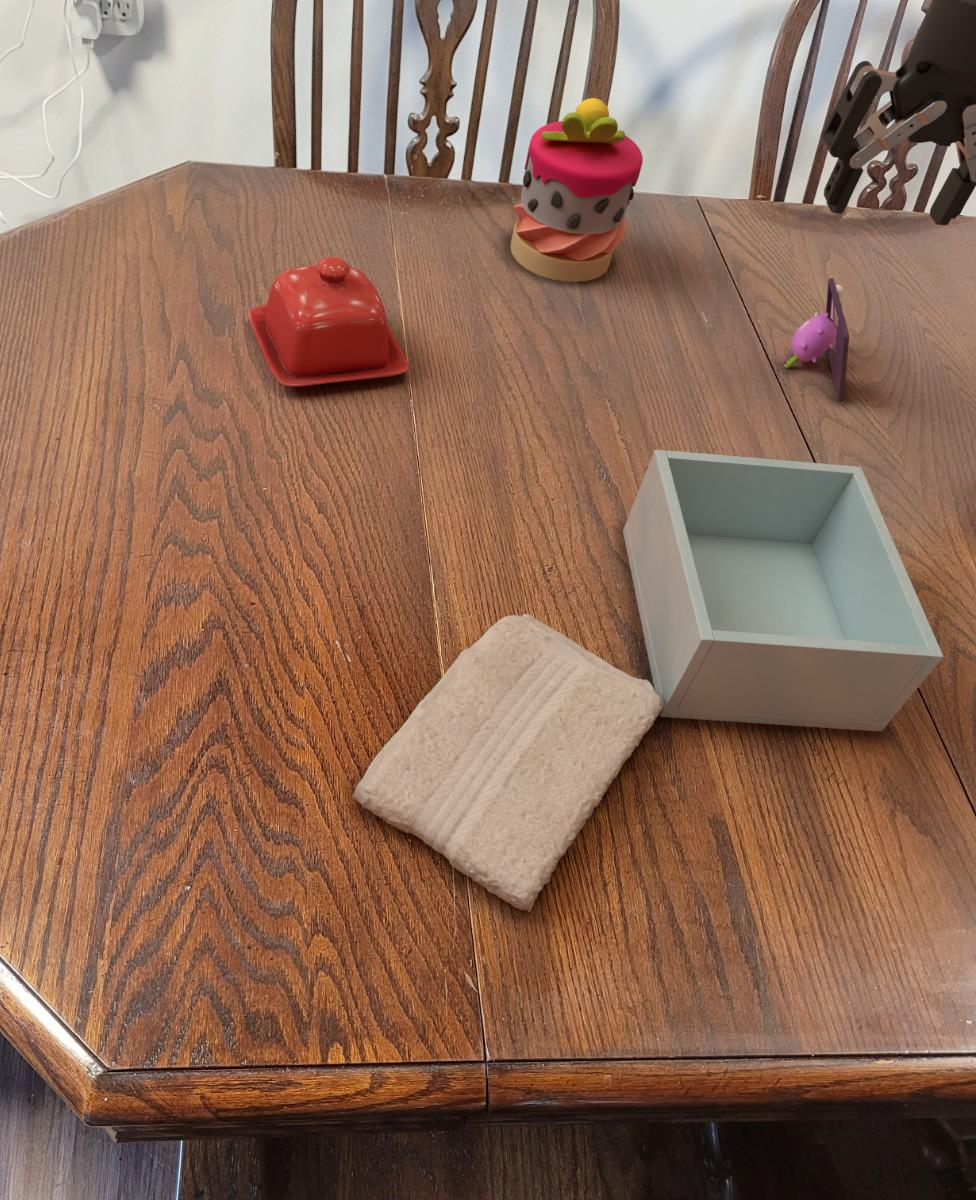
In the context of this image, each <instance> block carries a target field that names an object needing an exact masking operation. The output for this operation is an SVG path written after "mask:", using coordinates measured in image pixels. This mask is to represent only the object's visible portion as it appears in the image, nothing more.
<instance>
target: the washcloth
mask: <svg viewBox="0 0 976 1200" xmlns="http://www.w3.org/2000/svg"><path fill="white" fill-rule="evenodd" d="M662 708H663V700H662V699H661V698H660V696H659V695H657V694H656V693H655V688H654V685H652V684H651V682H650V681H649V680H647V679H642V678H638V677H634V676H632V675H630V674H628V673H627V672H625V671H622V670H621V669H618V668H616V667H615V666H613V665H612V664H610V663H609V662H607V661H606V660H605V659H603V658H601V657H600V656H597V654H594V653H593V652H591V651H590V650H587V649H586V648H585V647H583V646H582V645H580V644H579V643H576V642H575V641H574V640H571V639H570V638H569V637H567V636H566V635H565V634H563V633H561V632H560V631H558V630H556V629H554V628H552V627H550V626H549V625H548V624H547V625H546V624H545V623H543V622H541V621H539V620H538V619H537V618H535V617H533V616H532V615H531V614H529V613H524V614H522V615H521V616H520V615H516V614H513V615H511V614H510V615H506V616H504V617H501V618H500V619H499V620H498V621H496V622H495V623H494V624H493V625H491V626H490V627H489V628H488V629H487V630H486V631H485V633H484V634H483V635H482V636H481V637H480V638H479V639H478V640H476V642H473V644H472V645H471V646H470V647H467V648H464V649H463V650H462V651H461V652H460V653H459V655H458V656H457V658H456V659H455V660H454V662H453V663H452V664H451V666H450V667H449V668H448V670H447V671H446V672H445V673H444V675H443V676H442V677H441V678H440V680H439V681H438V682H437V683H436V684H435V685H434V686H433V687H432V689H431V690H430V691H429V692H428V693H427V694H426V695H425V696H424V698H423V699H422V700H421V701H419V702H418V704H417V706H416V707H415V709H414V710H413V711H412V712H411V714H410V715H409V717H408V718H407V719H406V720H405V722H404V723H403V725H402V726H401V727H400V728H399V729H398V731H397V732H395V734H393V736H392V737H391V738H390V740H388V741H387V742H386V743H385V745H384V746H383V747H382V749H380V751H379V753H377V754H376V755H375V757H374V758H373V760H371V763H370V764H369V765H368V768H367V770H366V771H365V773H364V775H363V776H362V778H361V780H360V781H359V782H358V783H357V786H356V788H355V790H354V793H353V794H352V797H353V799H354V800H355V801H357V802H358V803H359V804H360V805H361V806H362V807H363V808H364V809H367V810H368V811H370V812H371V813H372V814H374V815H375V816H377V817H378V818H379V819H381V820H383V821H384V822H386V823H387V824H388V825H391V826H392V827H393V828H397V829H398V830H400V831H401V832H404V833H406V834H411V835H413V836H415V837H417V838H418V839H420V840H422V842H423V843H424V844H426V845H427V846H429V847H430V848H432V850H434V852H437V853H438V854H441V855H443V857H444V858H445V859H447V860H448V861H449V864H450V866H451V867H452V868H455V869H456V870H457V871H458V872H460V873H462V874H463V875H465V876H467V877H468V878H470V879H471V880H472V881H473V882H475V883H477V884H478V885H479V886H480V887H484V888H485V889H486V890H487V892H488V893H490V894H494V895H495V896H497V897H498V898H499V899H502V900H503V901H504V902H505V903H508V904H509V905H511V906H513V907H514V908H516V909H519V910H521V911H527V912H528V913H530V912H531V911H532V908H533V906H534V903H535V902H536V899H537V898H538V896H539V893H540V892H541V891H542V890H543V889H544V886H545V885H546V884H549V883H550V882H551V877H552V873H553V872H555V871H556V868H557V865H558V863H559V862H560V859H561V858H562V857H563V856H564V855H565V854H566V853H567V849H569V847H571V845H572V844H573V842H574V840H575V839H577V836H578V834H579V833H580V831H581V830H582V829H583V828H584V826H585V824H586V822H587V820H588V819H590V818H591V817H592V815H593V814H594V809H596V807H598V806H599V804H601V801H602V799H603V798H602V797H604V795H605V794H606V792H607V790H608V789H609V787H610V785H611V784H612V782H613V780H615V779H616V778H617V777H618V774H619V773H620V771H621V769H622V767H623V766H624V764H625V762H626V761H627V760H628V759H629V758H631V756H632V753H633V752H634V750H635V748H636V747H639V744H640V742H641V740H642V739H643V738H644V735H645V734H647V733H648V731H649V730H650V729H651V727H652V726H653V725H654V722H655V721H656V720H657V717H658V716H660V713H659V712H660V711H661V709H662Z"/></svg>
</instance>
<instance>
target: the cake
mask: <svg viewBox="0 0 976 1200" xmlns="http://www.w3.org/2000/svg"><path fill="white" fill-rule="evenodd" d="M643 157H644V156H643V154H642V151H641V149H640V147H639V146H638V145H637V144H636V142H635V141H633V139H632V138H630V137H629V136H627V135H626V134H625V131H624V130H622V129H619V125H618V122H617V120H616V119H615V118H613V117H610V111H609V107H608V106H607V104H606V103H605V102H604V101H603V100H601V99H598V98H595V97H590V98H586V99H584V100H583V101H581V102H580V104H578V106H577V107H576V109H575V111H574V112H573V111H571V112H568V113H567V114H565V116H564V117H563V118H562V120H558V121H554V122H550V123H548V124H545V125H543V126H540V127H539V128H538V129H537V130H535V132H533V134H532V136H531V138H530V142H529V146H528V149H527V155H526V159H525V164H524V170H525V171H524V175H523V178H522V184H523V185H522V187H521V188H522V189H521V193H520V202H519V203H518V204H516V205H514V206H512V207H511V209H512V210H513V211H514V212H515V213H516V214H517V217H518V218H517V219H516V220H515V223H514V226H513V231H512V234H511V235H512V236H511V240H510V252H511V254H512V256H513V257H514V260H515V261H516V262H517V263H518V264H520V265H521V266H522V267H523V268H524V269H526V270H527V271H530V272H532V273H534V274H535V275H537V276H539V277H542V278H545V279H549V280H553V281H558V282H567V283H578V282H588V281H592V280H594V279H598V278H600V277H601V276H603V275H604V274H605V273H607V272H608V269H609V267H610V265H611V261H612V258H613V254H614V251H615V250H616V249H617V248H618V247H619V246H620V245H621V242H622V241H623V239H624V237H625V236H626V233H627V218H626V211H627V208H628V206H629V205H630V202H631V201H632V200H633V198H634V196H635V190H634V187H636V185H637V183H638V181H639V178H640V174H641V171H642V166H643V162H644V158H643Z"/></svg>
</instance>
